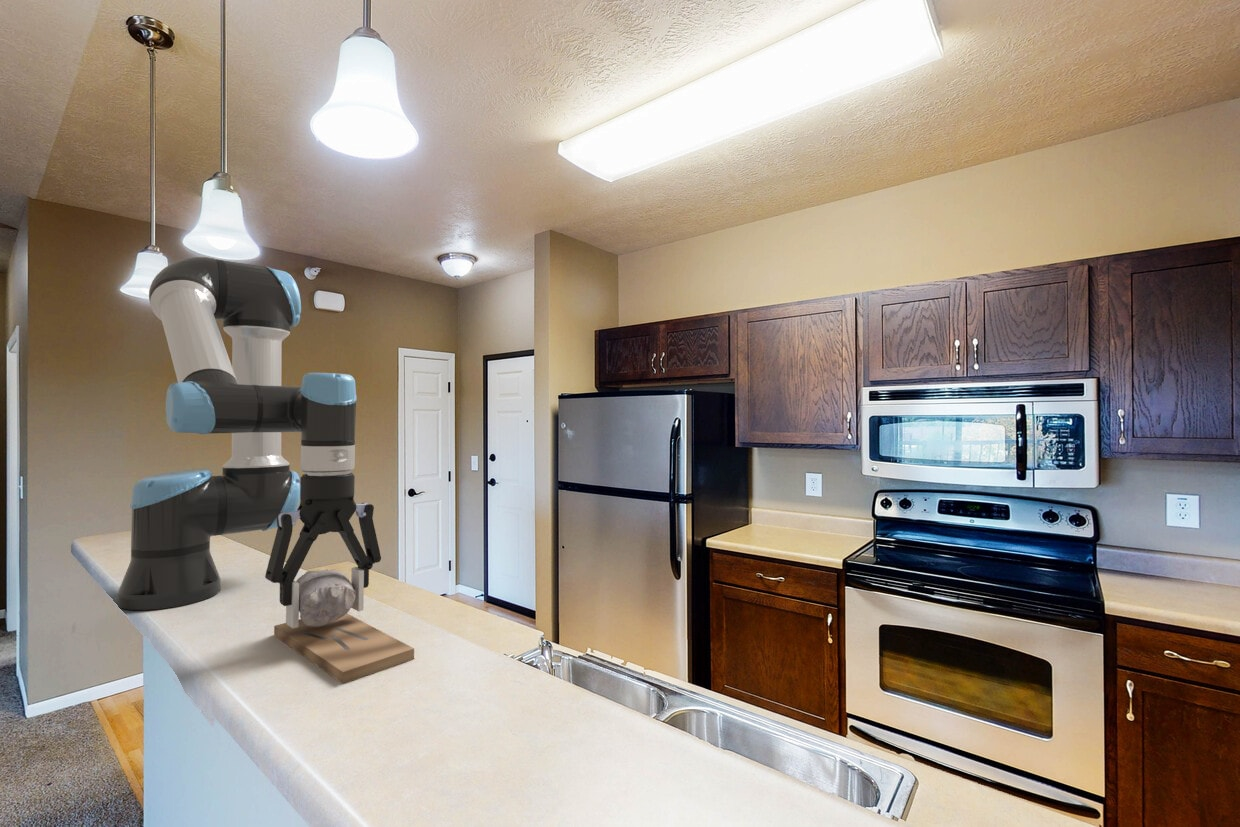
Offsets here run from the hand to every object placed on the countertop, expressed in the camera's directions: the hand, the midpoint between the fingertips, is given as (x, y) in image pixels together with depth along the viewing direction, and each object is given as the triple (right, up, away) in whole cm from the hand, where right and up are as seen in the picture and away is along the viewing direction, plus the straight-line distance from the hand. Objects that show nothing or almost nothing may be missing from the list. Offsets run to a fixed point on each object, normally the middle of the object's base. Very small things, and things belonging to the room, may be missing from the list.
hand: (325, 616), depth 89 cm
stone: (0, 0, 0) cm, 1 cm away
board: (+4, -3, -3) cm, 6 cm away
